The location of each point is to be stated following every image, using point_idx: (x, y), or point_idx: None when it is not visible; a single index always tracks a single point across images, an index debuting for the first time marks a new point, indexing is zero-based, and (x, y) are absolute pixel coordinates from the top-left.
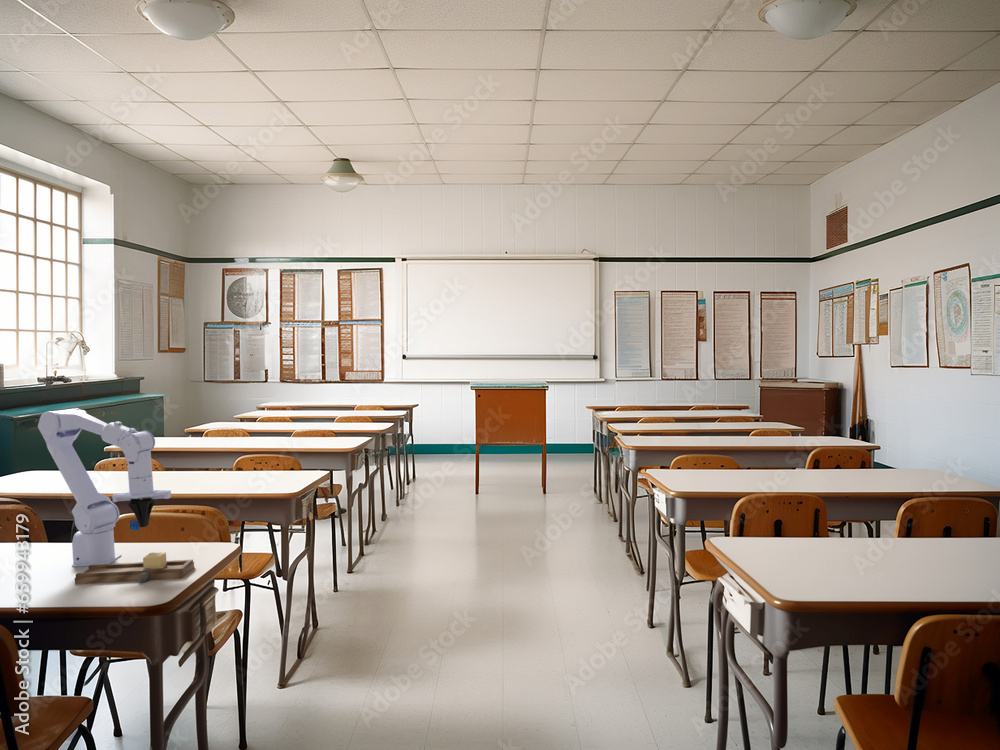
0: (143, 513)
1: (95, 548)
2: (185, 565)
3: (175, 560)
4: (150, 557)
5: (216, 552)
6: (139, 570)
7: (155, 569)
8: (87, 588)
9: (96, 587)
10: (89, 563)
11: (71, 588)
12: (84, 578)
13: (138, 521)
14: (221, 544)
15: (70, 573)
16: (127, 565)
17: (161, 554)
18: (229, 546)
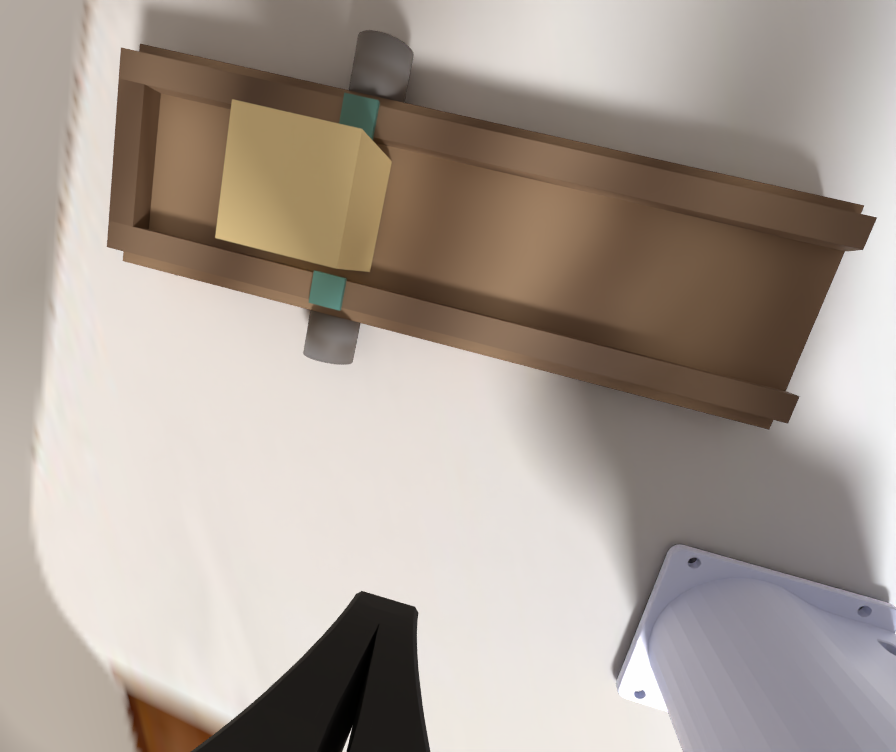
0: (267, 738)
1: (811, 655)
2: (119, 117)
3: (214, 273)
4: (302, 119)
5: (106, 511)
6: (407, 123)
7: (300, 101)
8: (732, 96)
9: (674, 95)
10: (791, 593)
11: (841, 140)
12: (786, 192)
13: (410, 658)
14: (116, 640)
15: (885, 482)
16: (522, 325)
17: (233, 178)
18: (66, 586)
